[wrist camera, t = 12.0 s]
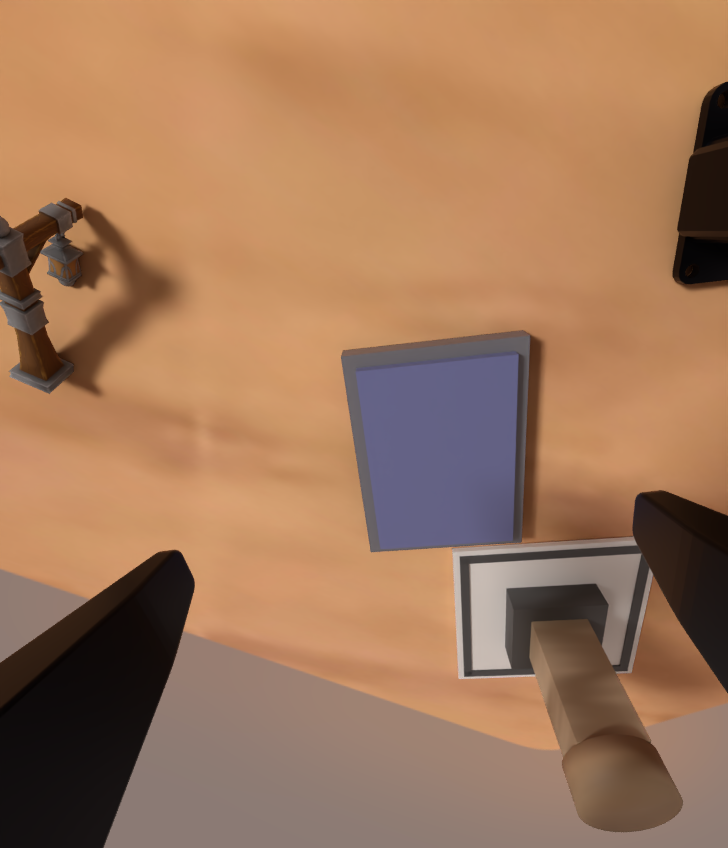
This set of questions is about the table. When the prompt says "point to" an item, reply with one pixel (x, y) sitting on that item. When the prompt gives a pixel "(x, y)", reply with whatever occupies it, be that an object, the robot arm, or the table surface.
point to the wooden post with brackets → (9, 281)
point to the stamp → (589, 708)
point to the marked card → (545, 566)
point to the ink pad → (441, 439)
